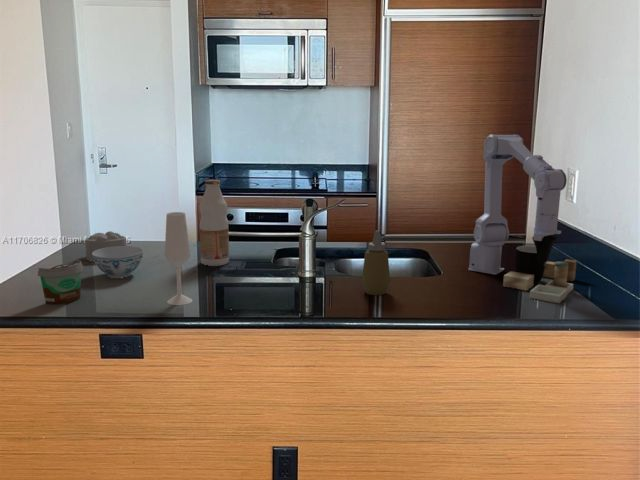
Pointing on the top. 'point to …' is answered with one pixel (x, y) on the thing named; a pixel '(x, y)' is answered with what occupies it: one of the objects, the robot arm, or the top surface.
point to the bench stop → (551, 266)
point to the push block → (518, 280)
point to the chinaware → (118, 260)
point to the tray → (548, 293)
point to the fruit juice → (213, 226)
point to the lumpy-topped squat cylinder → (103, 242)
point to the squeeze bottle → (376, 268)
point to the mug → (529, 262)
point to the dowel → (560, 274)
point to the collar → (568, 286)
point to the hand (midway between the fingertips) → (542, 261)
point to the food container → (62, 283)
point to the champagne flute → (177, 250)
